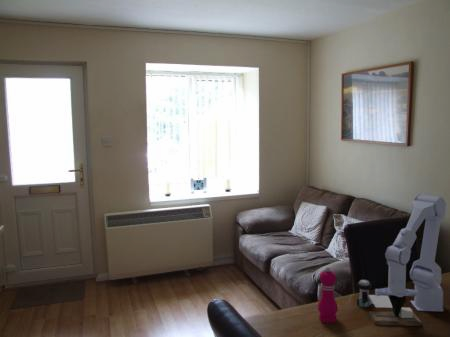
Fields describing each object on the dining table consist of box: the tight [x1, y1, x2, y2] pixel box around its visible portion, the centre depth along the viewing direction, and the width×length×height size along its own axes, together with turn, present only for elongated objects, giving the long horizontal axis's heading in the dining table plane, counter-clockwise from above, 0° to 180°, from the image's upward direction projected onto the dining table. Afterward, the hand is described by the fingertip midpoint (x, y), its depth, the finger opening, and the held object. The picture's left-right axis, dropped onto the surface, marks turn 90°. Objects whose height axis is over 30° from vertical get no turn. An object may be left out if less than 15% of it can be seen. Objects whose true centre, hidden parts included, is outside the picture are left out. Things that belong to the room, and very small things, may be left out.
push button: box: [356, 279, 373, 308], centre depth 150 cm, size 7×5×10 cm
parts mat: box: [369, 294, 393, 309], centre depth 153 cm, size 9×11×1 cm
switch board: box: [368, 310, 422, 327], centre depth 139 cm, size 16×7×2 cm, turn 84°
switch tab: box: [399, 306, 413, 318], centre depth 138 cm, size 4×3×2 cm
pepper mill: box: [317, 266, 339, 324], centre depth 140 cm, size 7×7×20 cm
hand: (396, 314), depth 138 cm, fingers closed
